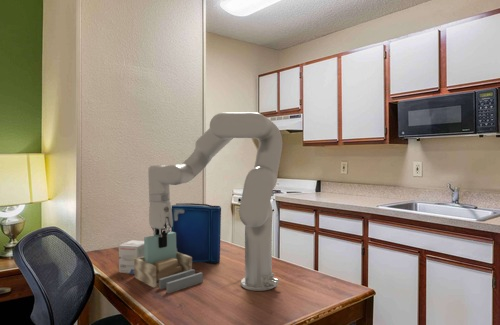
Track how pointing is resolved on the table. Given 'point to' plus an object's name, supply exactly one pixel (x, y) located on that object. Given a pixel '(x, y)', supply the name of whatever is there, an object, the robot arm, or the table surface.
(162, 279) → the stand
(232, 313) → the table surface
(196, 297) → the table surface
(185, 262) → the bin
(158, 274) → the offcut low
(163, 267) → the offcut top
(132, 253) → the ink box
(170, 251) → the sheet
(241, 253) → the table surface
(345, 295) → the table surface
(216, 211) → the book
